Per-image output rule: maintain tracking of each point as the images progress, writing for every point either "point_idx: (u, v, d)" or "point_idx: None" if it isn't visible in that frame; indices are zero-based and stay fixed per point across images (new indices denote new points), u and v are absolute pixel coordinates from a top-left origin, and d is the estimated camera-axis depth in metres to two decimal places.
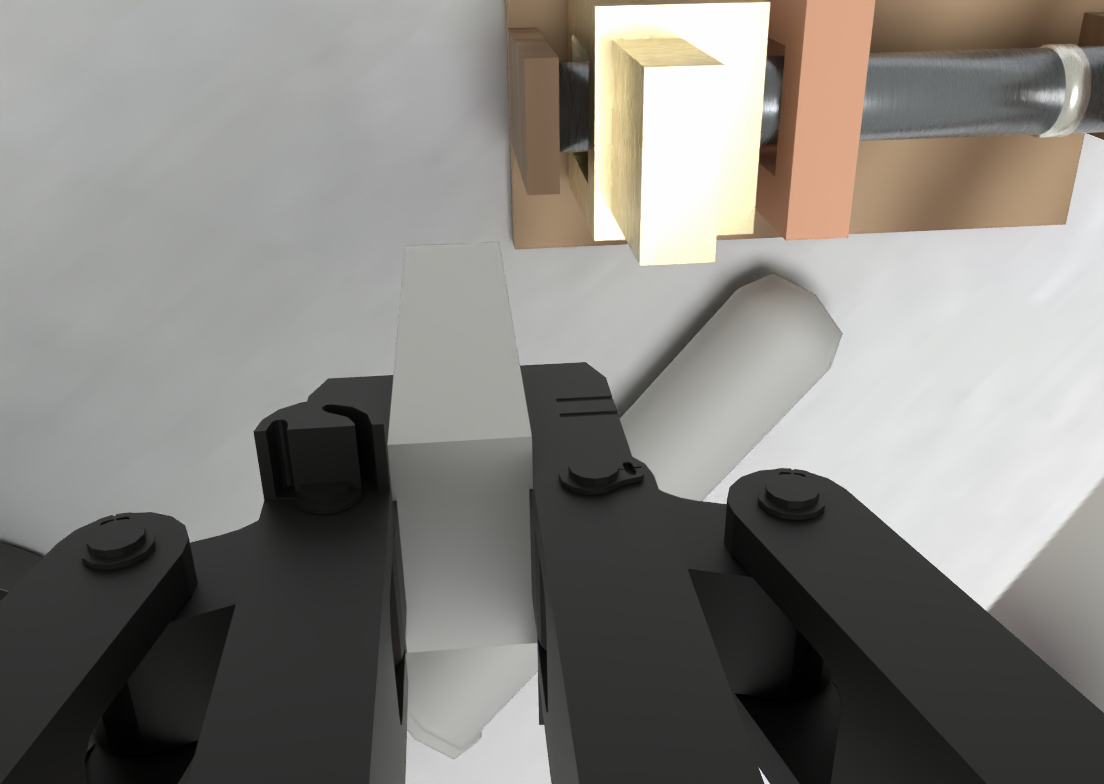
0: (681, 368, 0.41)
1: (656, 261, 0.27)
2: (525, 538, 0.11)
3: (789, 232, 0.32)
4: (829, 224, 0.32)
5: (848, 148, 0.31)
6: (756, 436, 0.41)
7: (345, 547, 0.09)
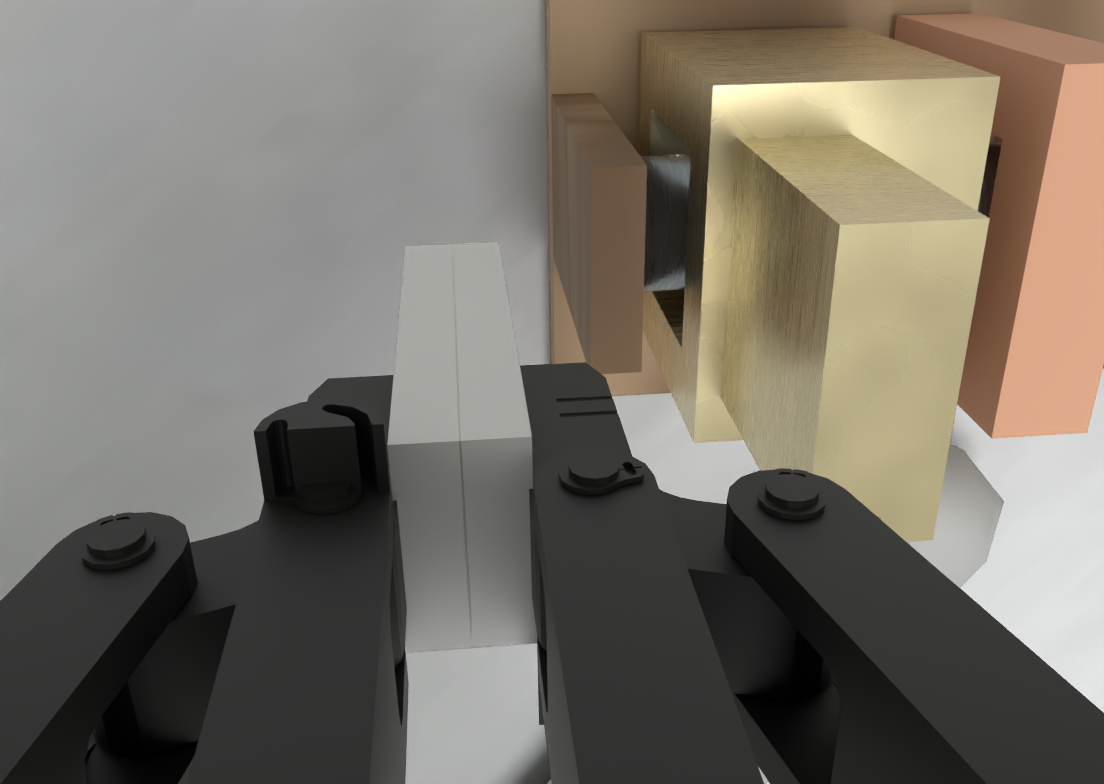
0: None
1: None
2: (525, 538, 0.11)
3: (998, 426, 0.21)
4: (1060, 414, 0.21)
5: (1103, 303, 0.20)
6: None
7: (345, 547, 0.09)
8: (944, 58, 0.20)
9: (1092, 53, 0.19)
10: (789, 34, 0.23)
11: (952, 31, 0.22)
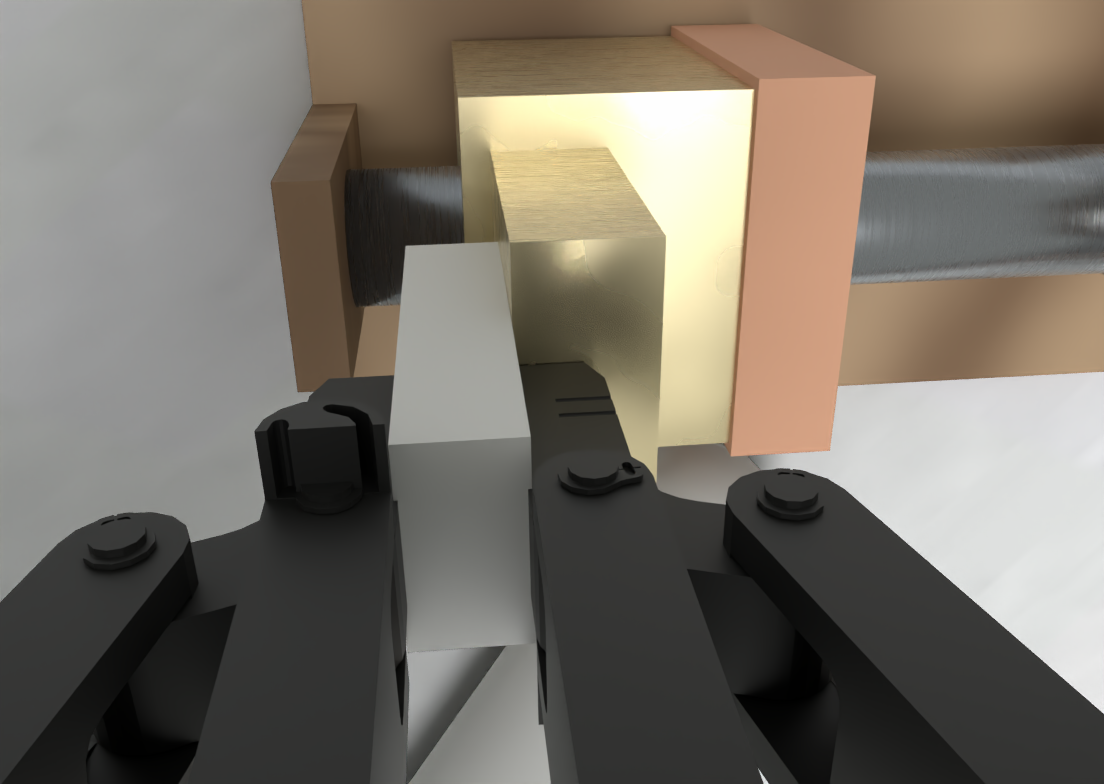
0: None
1: None
2: (524, 538, 0.11)
3: (736, 444, 0.20)
4: (799, 432, 0.20)
5: (830, 320, 0.19)
6: None
7: (346, 547, 0.09)
8: (720, 70, 0.19)
9: (804, 67, 0.18)
10: (596, 44, 0.23)
11: (700, 43, 0.21)
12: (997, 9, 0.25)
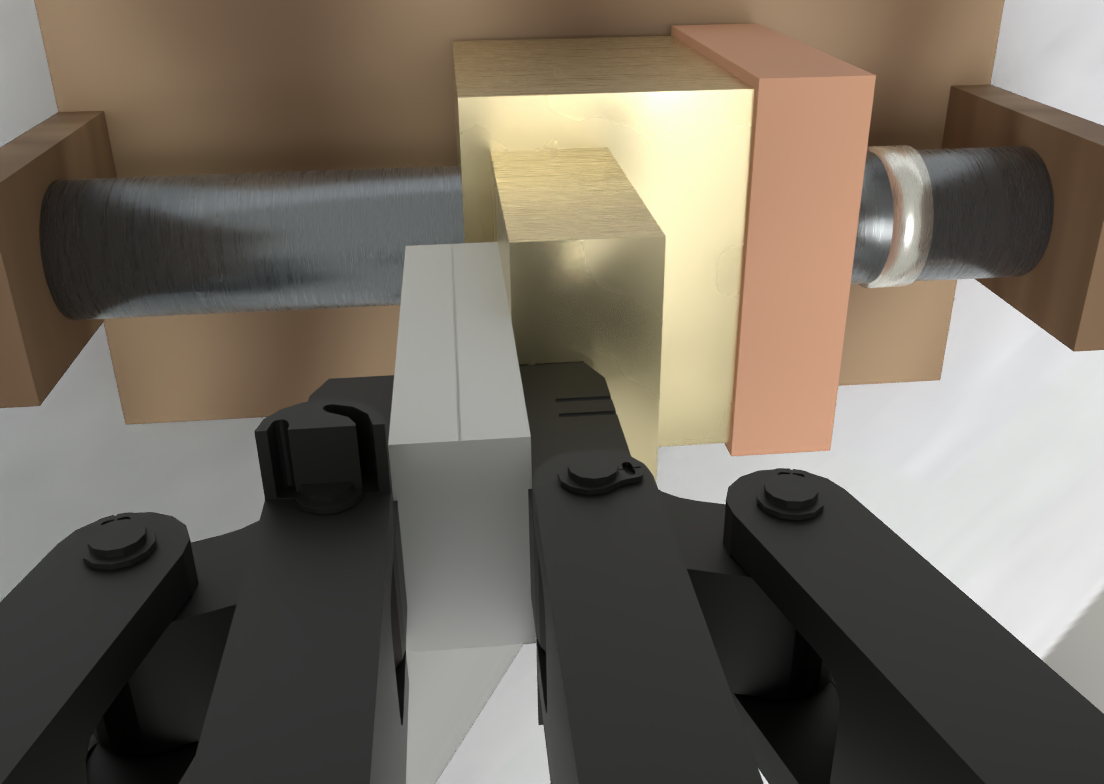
0: None
1: None
2: (524, 538, 0.11)
3: (736, 444, 0.20)
4: (800, 432, 0.20)
5: (830, 320, 0.19)
6: (477, 683, 0.28)
7: (346, 547, 0.09)
8: (720, 69, 0.19)
9: (804, 66, 0.18)
10: (596, 43, 0.23)
11: (700, 42, 0.21)
12: (763, 14, 0.24)
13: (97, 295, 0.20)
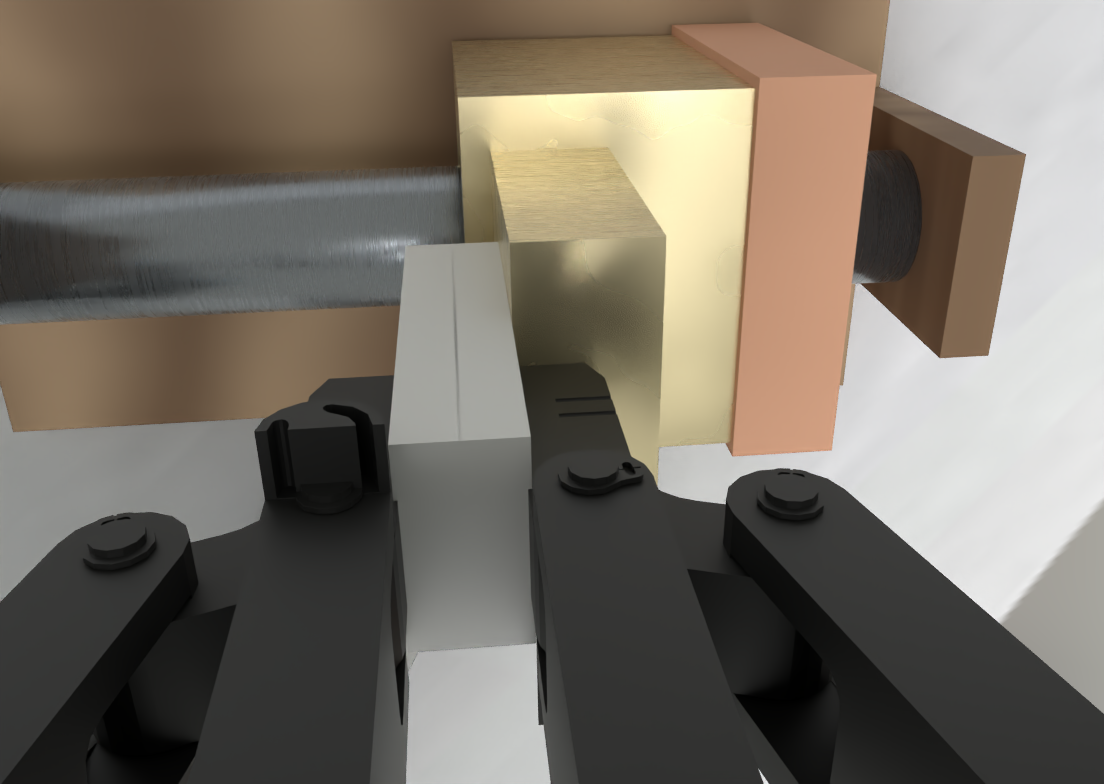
0: None
1: None
2: (524, 538, 0.11)
3: (737, 444, 0.20)
4: (801, 432, 0.20)
5: (831, 319, 0.19)
6: None
7: (346, 547, 0.09)
8: (721, 68, 0.19)
9: (805, 66, 0.18)
10: (596, 43, 0.23)
11: (701, 42, 0.21)
12: (644, 16, 0.24)
13: None
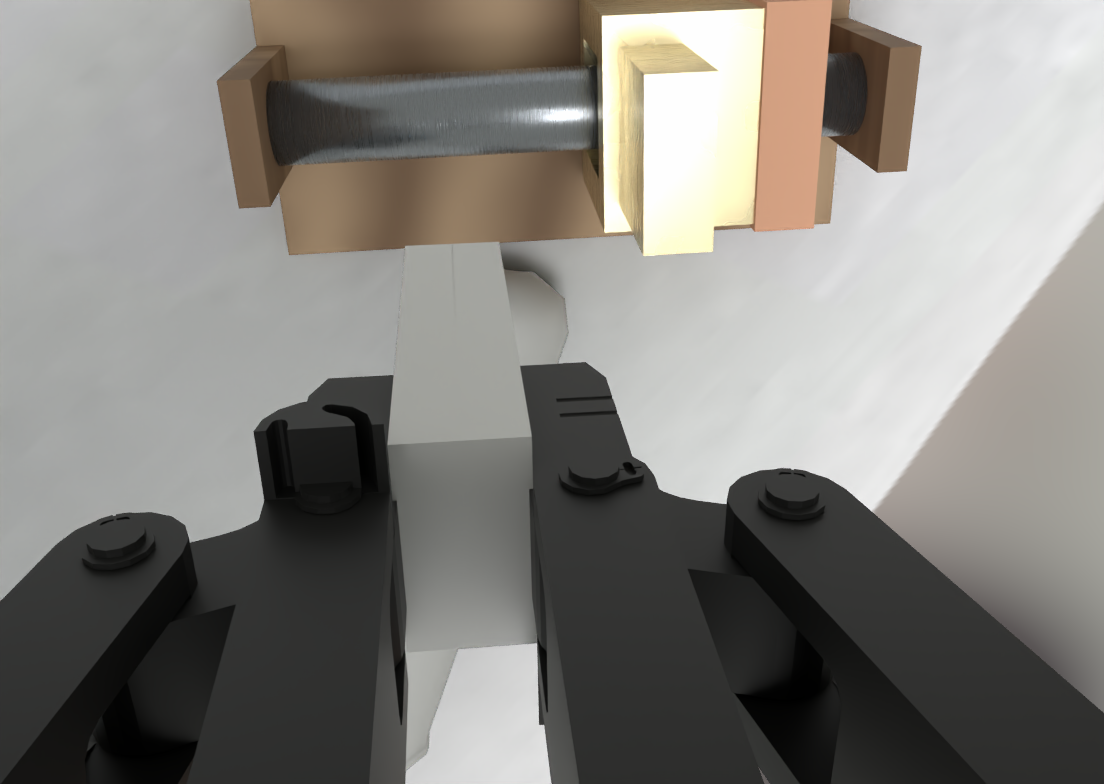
0: None
1: (658, 251, 0.30)
2: (525, 538, 0.11)
3: (757, 223, 0.35)
4: (795, 216, 0.35)
5: (811, 145, 0.34)
6: None
7: (344, 547, 0.09)
8: (746, 1, 0.34)
9: None
10: None
11: None
12: None
13: (297, 146, 0.35)
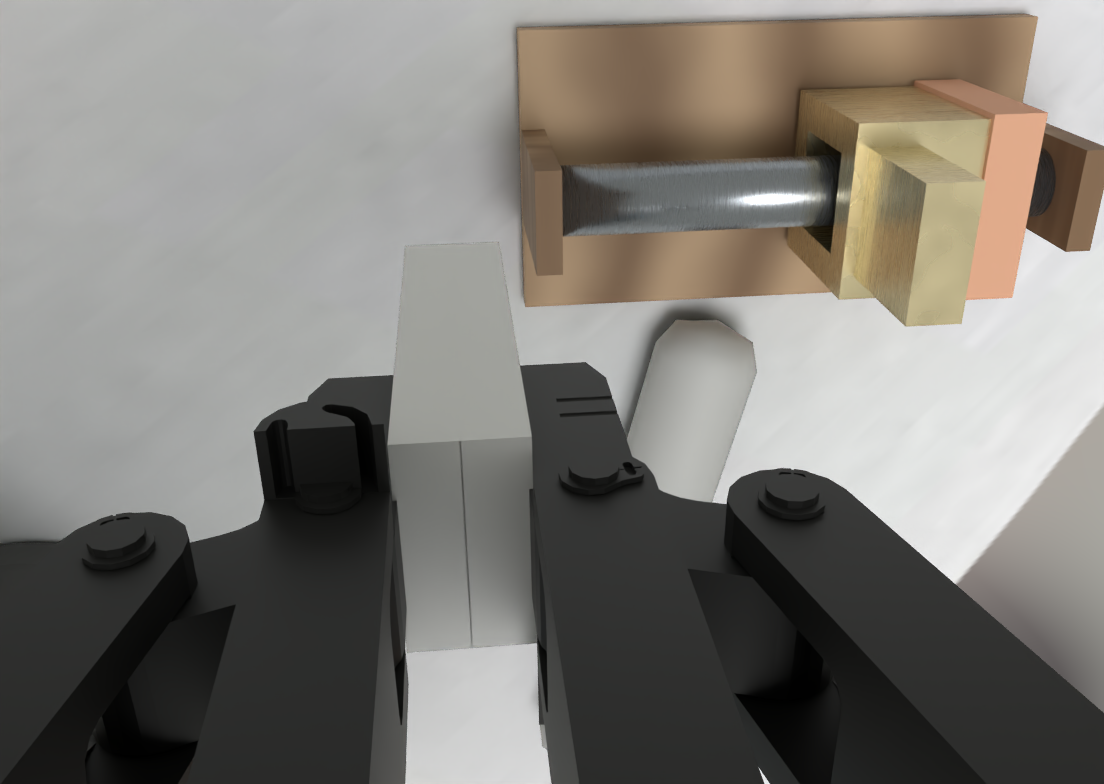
0: (638, 422, 0.49)
1: (918, 323, 0.36)
2: (525, 538, 0.11)
3: None
4: (998, 287, 0.41)
5: (1017, 229, 0.40)
6: (716, 452, 0.48)
7: (345, 547, 0.09)
8: (964, 108, 0.40)
9: (1010, 108, 0.39)
10: (881, 91, 0.43)
11: (944, 92, 0.42)
12: (897, 75, 0.45)
13: (579, 222, 0.41)
